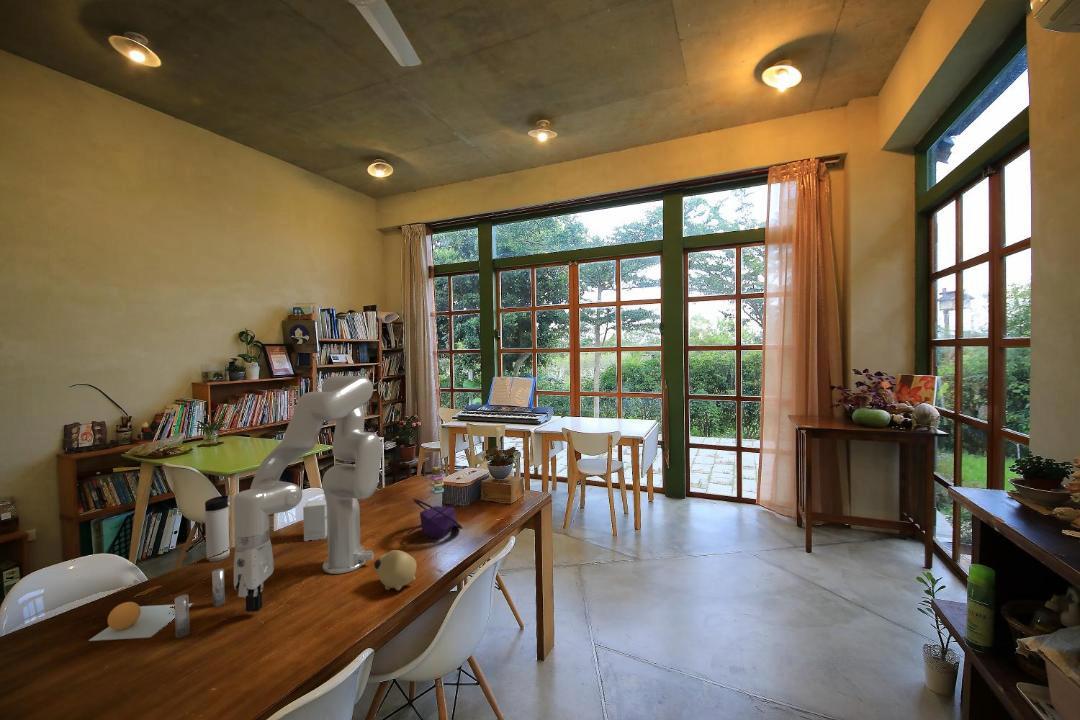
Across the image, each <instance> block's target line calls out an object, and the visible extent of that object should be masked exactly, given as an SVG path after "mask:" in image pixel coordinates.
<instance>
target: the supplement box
mask: <svg viewBox="0 0 1080 720" xmlns="http://www.w3.org/2000/svg"><path fill="white" fill-rule="evenodd" d="M302 509H303V512H302V513H303V541H304V542H310V541H309V540H312V541H319V539H321V540H325V539H327V507H326V499H317V500H316V499H315V500H314V499H313V500H308V501H307V502H306V503H305V505H304V506H303V508H302Z"/></svg>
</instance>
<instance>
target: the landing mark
mask: <svg viewBox="0 0 1080 720" xmlns="http://www.w3.org/2000/svg"><path fill="white" fill-rule="evenodd" d="M192 604H193V603H189V608H190V607H192V606H193V605H192ZM191 605H192V606H191ZM172 606H173V607H174V606H175V604H162V605H161V604H160V605H159V604H158V605H145V606H144V605H142V606H140V605H139V607H140V609H141V613H140V616H139V618H138V620H137V621H136V622H135V623H134V624H133V625H131V626H130V627H128V628H126V629H122V630H115V629H112V628H111V627H110V626H109V625H108V627H107V628H105V629H103V630H101V631H100V632H99V633H97V634H96V635H94V636H92V638H91V637H90V639H88V641H89V642H95V641H96V642H97V641H113V640H124V639H125V640H127V639H128V640H131V639H146V638H147V639H148V638H152V637H153V636H155V635H156V634H157V633H158V632H160V631H161V630H162V629H163V627H164V628H165V627H166V626H167V625H169V624H170V623H171V622H173V621H174V620H175V619H174V618H175V609H174V608H170V607H172ZM169 613H170V614H169ZM173 614H174V615H173ZM173 619H174V620H173ZM172 620H173V621H172ZM169 622H170V623H169ZM168 623H169V624H168ZM159 630H160V631H159Z"/></svg>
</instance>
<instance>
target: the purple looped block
mask: <svg viewBox="0 0 1080 720" xmlns="http://www.w3.org/2000/svg"><path fill="white" fill-rule="evenodd" d="M441 471H442V467H441V466H434V467H431V472H432V473H431V476H429V477H428V479H429V480H430V481H432V482H430V483H429V484H428V486H429V487H431V488H432V489H430V490H429V493H430V494H433V495H439V494H443V493H444V492H445V491H444V490H445V489H444V488H443V487H444V485H445V484H444V481H443V479H444V475H443V474H441ZM466 497H467V495H465V496H463V497H461V498H459V499H458V500H457V501H455V502H453V503H452V504H450V505H449V506H446V505H445V504H444V505H443V506H438V505H435V506H432V505H430V504H428V503H425V502H424V501H422V500H419V499H416V498H413V501H414V503H415V504H416V505H417V506H419V507H420V508H422V509H423V510H422V511H420V512H419V515H420V523H421V524H419V525H418V526H416V527H415V528H413V529H412V530H410V531H408V532H407V533H406V534H407V535H409V534H410V533H412V532H414V531H415V530H417V529H418V528H420V527H421V530H422V532H424V534H425V535H426V536H427V537H428V538H430V539H443V537H445V536H447V535H448V534H449V533H451V531H452V529H454V527H455V528H456V529H460V530H462V529H463V527H462V525H461V524H459V523H458V520H457V516H456V509H455V507H452V506H454V505H455V504H456V503H458V502H460V501H462V500H463V499H464V498H466ZM438 501H439V499H438ZM438 504H440V503H439V502H438ZM423 505H425V506H426V507H429V508H428V509H427V508H426V507H425V506H423Z"/></svg>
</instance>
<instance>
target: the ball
mask: <svg viewBox="0 0 1080 720" xmlns="http://www.w3.org/2000/svg"><path fill="white" fill-rule="evenodd" d="M139 606H140V605H139V604H138V603H136V602H134V601H125V602H122V603H120V604H118V605H117V606H115V607H114V608H113V609H112V610H111V611H110V613H109V615H108V616H107V625H108V627H109V626H110V627H111V628H112V629H115V630H122V629H126V628H128V627H130V626H131V625H133V624H134V623H135V622H136V621H137V620H138V618H139V616H140V613H141V609H140V607H139Z"/></svg>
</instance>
